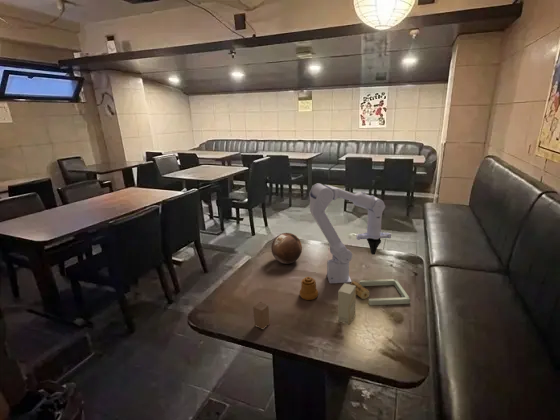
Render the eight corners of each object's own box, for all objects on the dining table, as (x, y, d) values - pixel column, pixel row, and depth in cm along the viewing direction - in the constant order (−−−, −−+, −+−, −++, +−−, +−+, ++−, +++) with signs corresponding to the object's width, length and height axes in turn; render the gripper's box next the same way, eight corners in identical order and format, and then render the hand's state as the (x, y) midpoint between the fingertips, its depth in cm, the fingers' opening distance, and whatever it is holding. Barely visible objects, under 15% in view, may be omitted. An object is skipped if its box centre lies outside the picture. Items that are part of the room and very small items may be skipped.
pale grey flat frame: (369, 305, 114) (369, 300, 114) (359, 284, 128) (359, 280, 127) (409, 303, 114) (410, 298, 113) (395, 283, 128) (396, 279, 127)
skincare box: (349, 325, 104) (350, 294, 101) (337, 321, 106) (337, 291, 103) (355, 315, 109) (356, 285, 106) (343, 311, 112) (344, 282, 108)
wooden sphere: (266, 264, 149) (264, 236, 145) (283, 252, 161) (282, 226, 156) (291, 272, 141) (290, 242, 137) (307, 259, 153) (307, 231, 148)
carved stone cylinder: (349, 290, 125) (349, 281, 124) (358, 287, 126) (358, 279, 125) (360, 300, 117) (361, 292, 116) (369, 298, 119) (370, 289, 118)
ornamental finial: (321, 298, 120) (303, 302, 118) (314, 289, 127) (297, 292, 125) (320, 281, 117) (302, 284, 116) (313, 272, 124) (296, 275, 122)
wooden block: (261, 320, 109) (260, 301, 107) (270, 324, 107) (268, 305, 104) (254, 326, 106) (252, 306, 104) (262, 330, 104) (261, 310, 101)
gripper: (359, 228, 126) (358, 258, 131) (394, 227, 126) (392, 256, 130) (355, 223, 133) (354, 251, 137) (388, 221, 133) (386, 249, 137)
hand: (372, 253), depth 134 cm, fingers closed
